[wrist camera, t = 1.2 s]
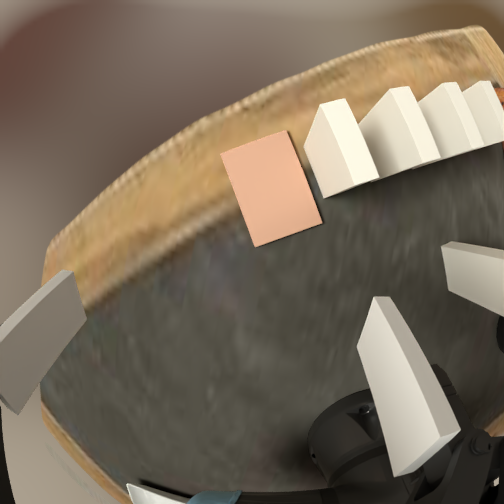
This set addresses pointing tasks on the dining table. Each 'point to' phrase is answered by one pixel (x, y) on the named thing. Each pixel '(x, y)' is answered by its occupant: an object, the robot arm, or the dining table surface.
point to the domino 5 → (476, 274)
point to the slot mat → (271, 188)
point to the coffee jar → (500, 333)
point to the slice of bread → (503, 97)
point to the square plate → (153, 495)
